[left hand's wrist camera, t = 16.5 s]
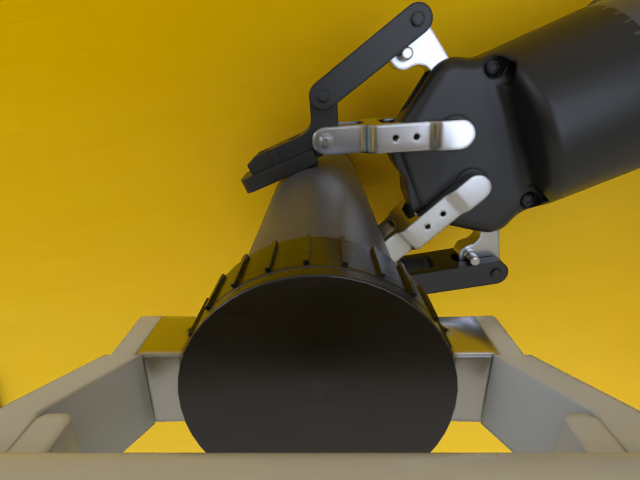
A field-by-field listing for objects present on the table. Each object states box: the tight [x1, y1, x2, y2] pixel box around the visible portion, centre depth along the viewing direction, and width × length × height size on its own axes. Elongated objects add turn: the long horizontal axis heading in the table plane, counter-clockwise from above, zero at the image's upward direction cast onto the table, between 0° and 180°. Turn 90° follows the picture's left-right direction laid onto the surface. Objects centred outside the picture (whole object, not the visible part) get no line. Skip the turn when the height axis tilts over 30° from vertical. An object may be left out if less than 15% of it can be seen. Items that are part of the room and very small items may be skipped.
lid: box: [178, 234, 458, 453], centre depth 9 cm, size 6×6×2 cm
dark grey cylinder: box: [248, 154, 391, 258], centre depth 18 cm, size 5×5×19 cm
